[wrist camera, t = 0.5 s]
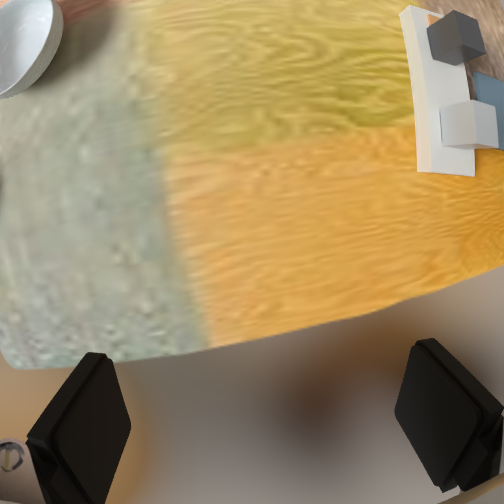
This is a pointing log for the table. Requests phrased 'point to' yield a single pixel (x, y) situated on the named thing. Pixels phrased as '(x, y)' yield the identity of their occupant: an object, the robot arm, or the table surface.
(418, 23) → the power strip
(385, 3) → the table surface
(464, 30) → the block
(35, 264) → the table surface
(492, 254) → the table surface
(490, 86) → the mat
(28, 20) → the cereal bowl
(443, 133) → the block
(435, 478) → the robot arm
